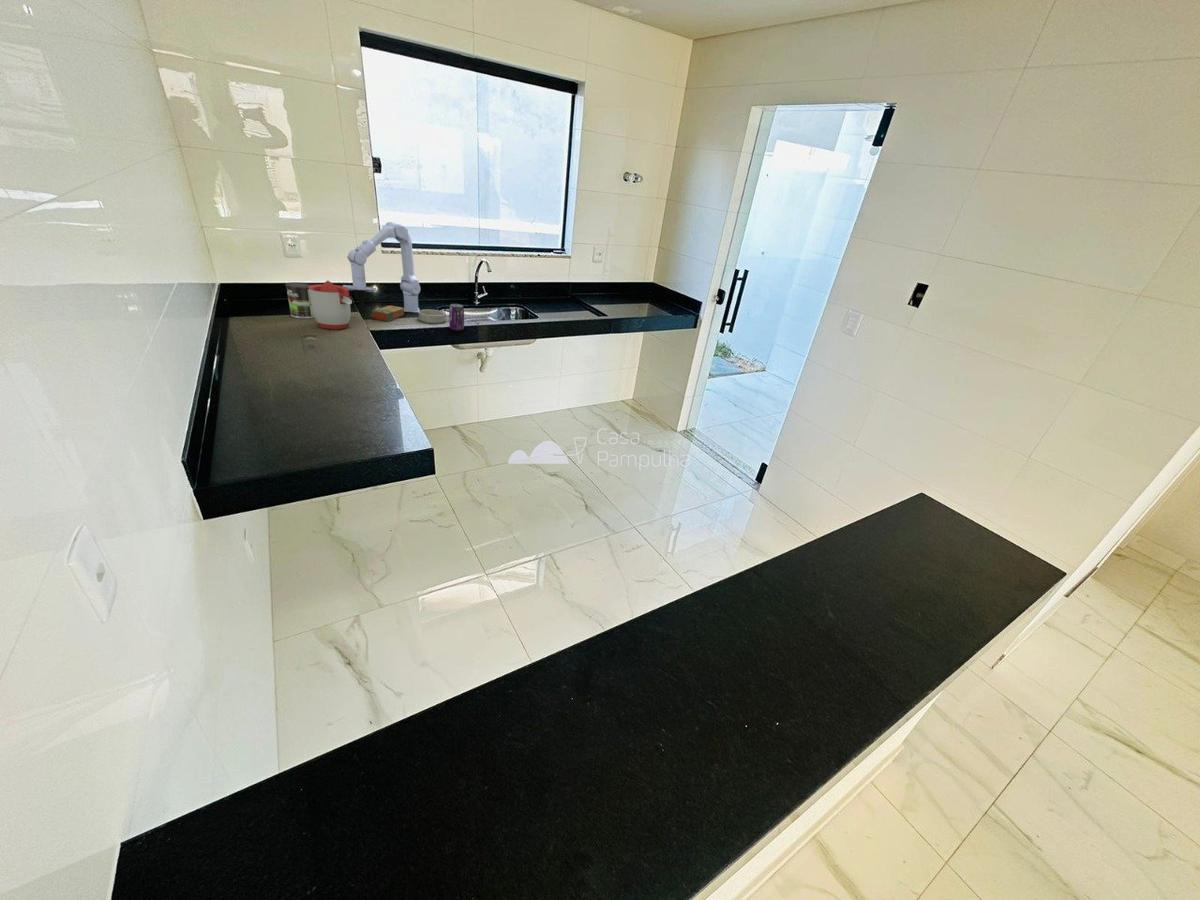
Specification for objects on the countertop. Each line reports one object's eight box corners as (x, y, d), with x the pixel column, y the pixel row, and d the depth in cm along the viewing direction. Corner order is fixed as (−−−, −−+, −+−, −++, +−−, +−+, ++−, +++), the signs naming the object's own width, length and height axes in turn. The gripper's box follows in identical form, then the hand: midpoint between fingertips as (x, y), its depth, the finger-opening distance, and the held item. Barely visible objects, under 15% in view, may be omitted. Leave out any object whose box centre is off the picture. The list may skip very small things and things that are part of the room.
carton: (404, 315, 243) (404, 307, 241) (387, 321, 228) (386, 313, 226) (389, 313, 243) (389, 304, 241) (371, 318, 229) (370, 310, 227)
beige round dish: (419, 316, 246) (418, 308, 244) (445, 318, 250) (445, 310, 248) (418, 322, 235) (417, 314, 233) (445, 324, 239) (445, 316, 237)
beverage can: (461, 332, 231) (461, 307, 225) (447, 330, 230) (447, 305, 225) (465, 328, 237) (465, 305, 232) (451, 326, 237) (451, 302, 231)
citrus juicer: (341, 334, 202) (335, 286, 192) (305, 326, 204) (297, 279, 194) (364, 326, 215) (359, 282, 206) (330, 320, 217) (324, 275, 208)
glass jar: (301, 319, 212) (296, 287, 205) (285, 315, 215) (279, 283, 208) (321, 316, 221) (317, 285, 214) (305, 312, 223) (300, 281, 217)
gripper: (340, 277, 218) (343, 306, 224) (374, 280, 222) (376, 309, 229) (343, 274, 224) (346, 303, 230) (376, 277, 228) (378, 305, 235)
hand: (361, 306), depth 230 cm, fingers closed
